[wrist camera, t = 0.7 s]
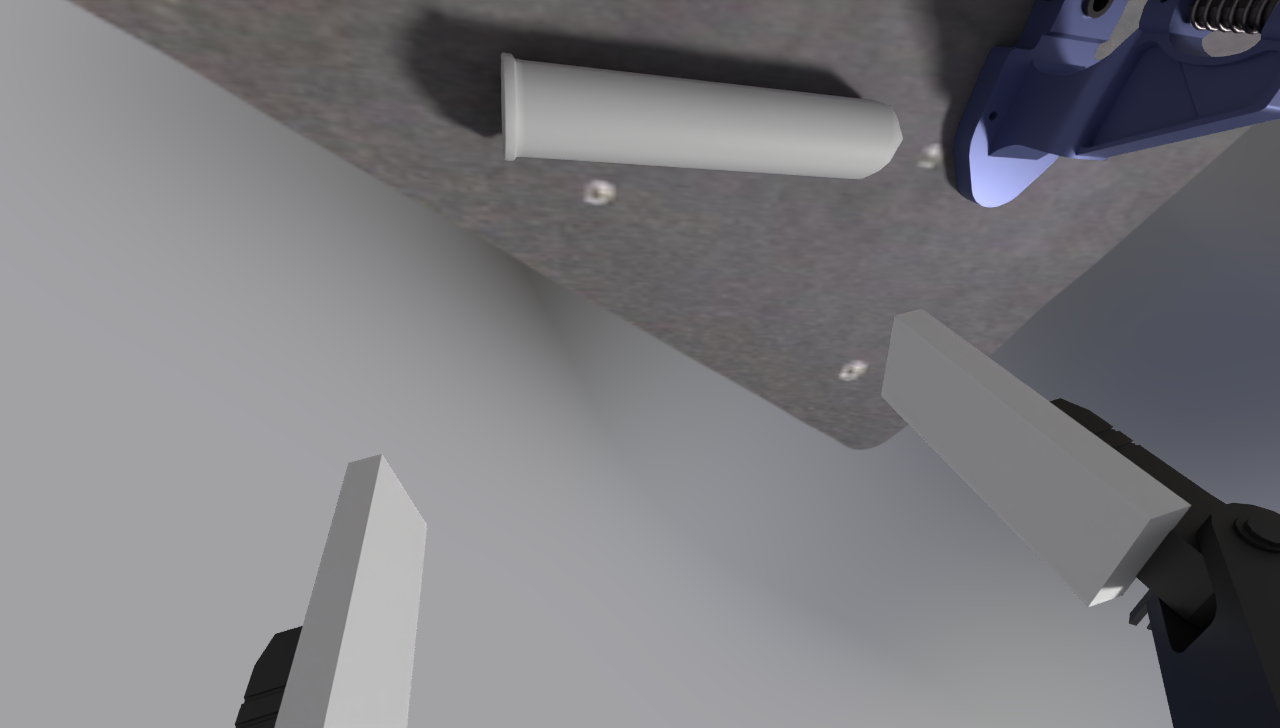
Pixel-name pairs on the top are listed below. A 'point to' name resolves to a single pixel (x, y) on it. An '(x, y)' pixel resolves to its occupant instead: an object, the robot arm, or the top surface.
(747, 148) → the tube
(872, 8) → the top surface
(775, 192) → the top surface
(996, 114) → the hand press
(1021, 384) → the robot arm
